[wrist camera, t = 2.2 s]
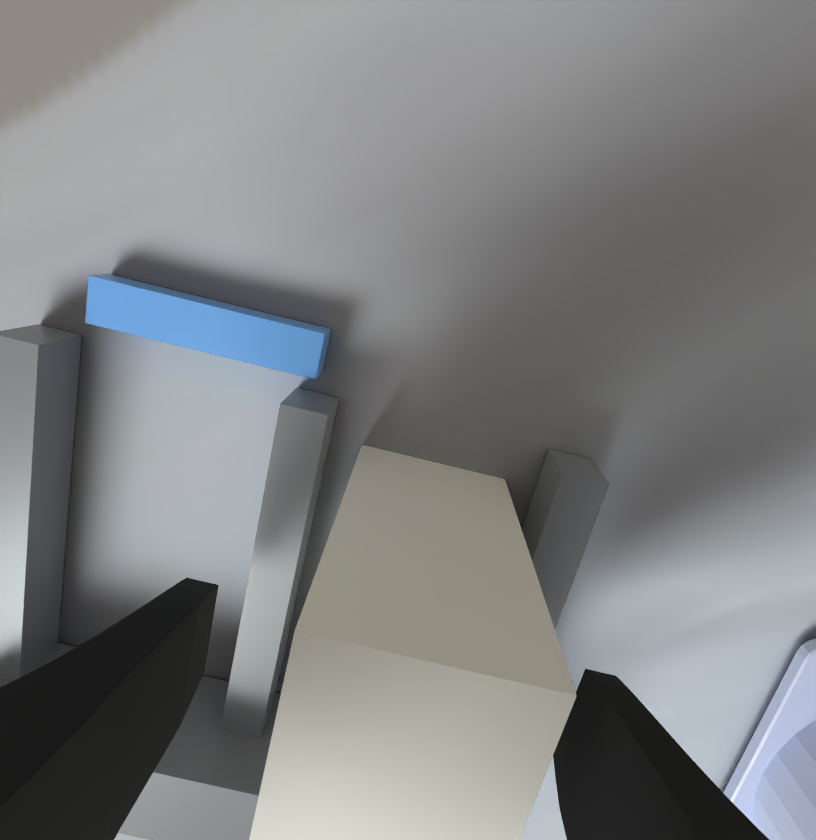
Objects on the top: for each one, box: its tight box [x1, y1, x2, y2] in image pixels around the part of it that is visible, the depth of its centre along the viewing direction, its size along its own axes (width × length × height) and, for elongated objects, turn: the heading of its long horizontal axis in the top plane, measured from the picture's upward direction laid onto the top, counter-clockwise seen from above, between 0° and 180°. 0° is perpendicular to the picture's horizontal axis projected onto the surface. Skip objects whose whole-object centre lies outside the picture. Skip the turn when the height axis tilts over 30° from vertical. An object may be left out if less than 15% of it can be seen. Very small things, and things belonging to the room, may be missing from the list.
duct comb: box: [0, 324, 609, 840], centre depth 13 cm, size 13×10×3 cm
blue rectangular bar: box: [85, 274, 331, 379], centre depth 12 cm, size 5×1×1 cm, turn 76°
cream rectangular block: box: [249, 445, 577, 840], centre depth 11 cm, size 4×6×7 cm, turn 166°
